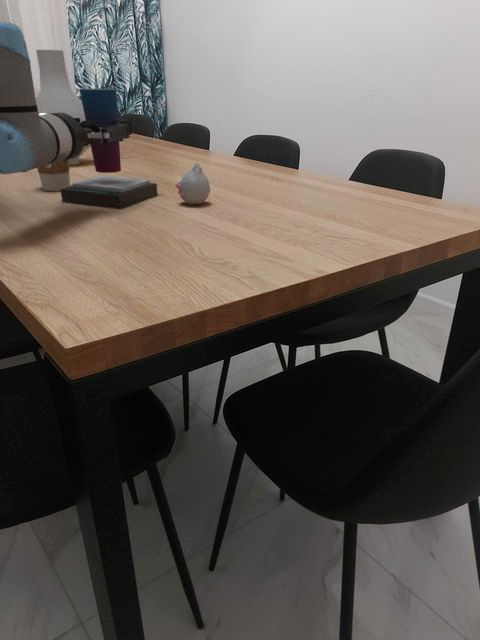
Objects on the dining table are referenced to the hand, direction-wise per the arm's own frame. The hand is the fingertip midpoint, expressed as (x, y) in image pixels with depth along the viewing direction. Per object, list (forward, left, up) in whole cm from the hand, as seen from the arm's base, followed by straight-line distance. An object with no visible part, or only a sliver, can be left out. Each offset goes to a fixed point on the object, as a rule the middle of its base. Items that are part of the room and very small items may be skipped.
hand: (114, 126), depth 104 cm
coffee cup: (-16, -2, -14) cm, 21 cm away
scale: (+1, -5, -14) cm, 14 cm away
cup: (+1, -5, -8) cm, 10 cm away
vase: (-37, +27, -14) cm, 48 cm away
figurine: (+19, -2, -14) cm, 23 cm away
